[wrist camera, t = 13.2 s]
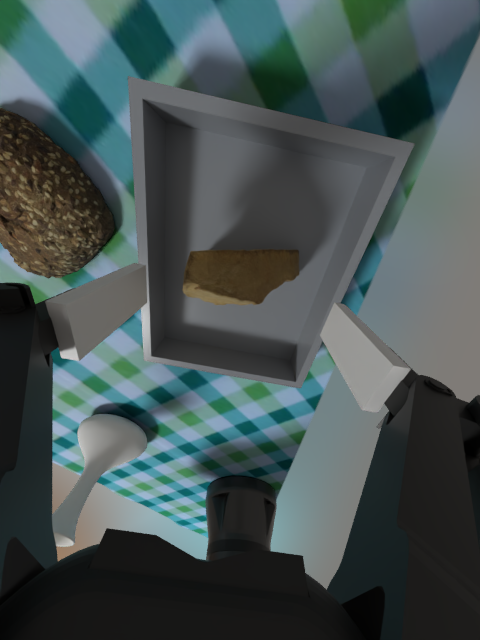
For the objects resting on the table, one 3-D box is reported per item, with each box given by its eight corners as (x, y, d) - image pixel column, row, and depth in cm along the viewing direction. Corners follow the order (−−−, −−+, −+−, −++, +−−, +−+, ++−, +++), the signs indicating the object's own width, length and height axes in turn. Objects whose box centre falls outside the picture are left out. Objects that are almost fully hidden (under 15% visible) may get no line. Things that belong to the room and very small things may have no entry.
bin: (293, 362, 27) (300, 388, 23) (160, 337, 26) (144, 360, 22) (375, 159, 16) (414, 143, 12) (159, 109, 16) (127, 76, 12)
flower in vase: (155, 417, 34) (-24, 798, 12) (148, 452, 39) (15, 761, 17) (74, 396, 32) (-297, 785, 11) (78, 436, 38) (-163, 749, 16)
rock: (334, 226, 16) (213, 171, 14) (340, 325, 13) (178, 275, 10) (271, 290, 26) (193, 264, 23) (265, 356, 22) (172, 334, 20)
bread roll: (135, 236, 21) (104, 244, 16) (55, 286, 24) (10, 304, 19) (24, 74, 15) (-67, 20, 11) (-60, 166, 19) (-156, 153, 14)
